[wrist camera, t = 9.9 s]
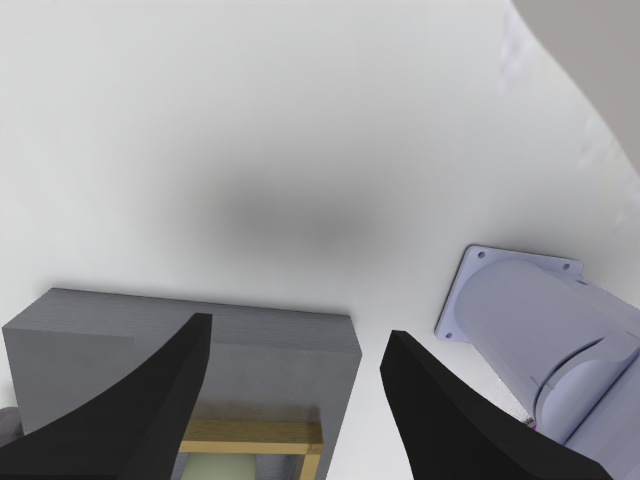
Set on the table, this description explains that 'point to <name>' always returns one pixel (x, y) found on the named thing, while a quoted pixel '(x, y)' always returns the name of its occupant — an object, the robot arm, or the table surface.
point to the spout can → (220, 466)
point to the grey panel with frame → (219, 382)
